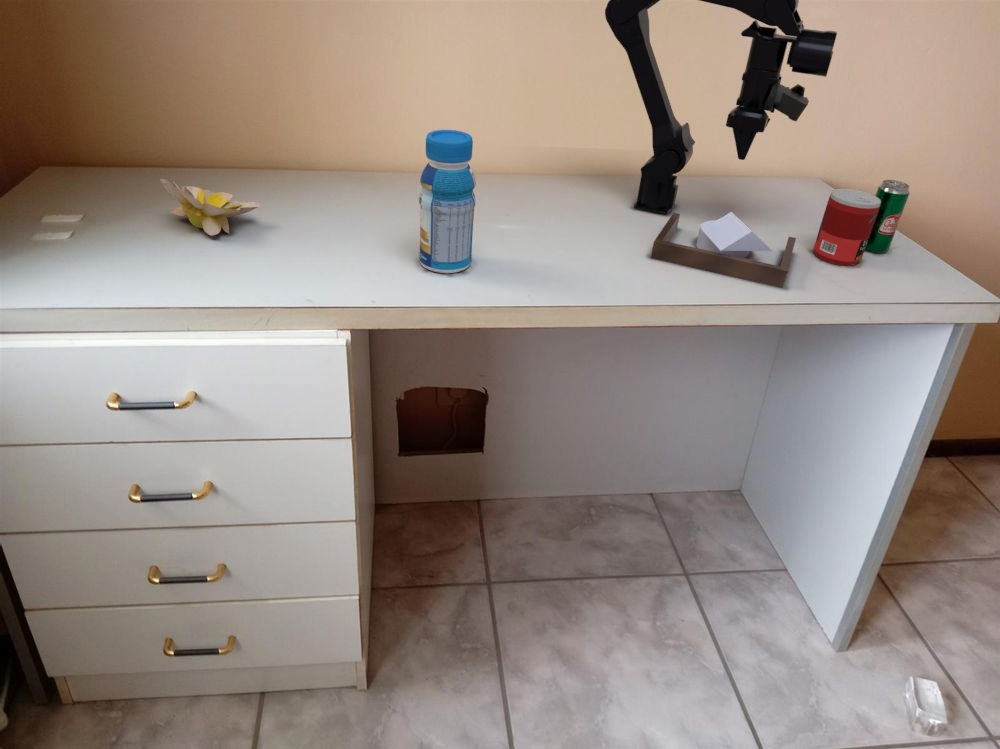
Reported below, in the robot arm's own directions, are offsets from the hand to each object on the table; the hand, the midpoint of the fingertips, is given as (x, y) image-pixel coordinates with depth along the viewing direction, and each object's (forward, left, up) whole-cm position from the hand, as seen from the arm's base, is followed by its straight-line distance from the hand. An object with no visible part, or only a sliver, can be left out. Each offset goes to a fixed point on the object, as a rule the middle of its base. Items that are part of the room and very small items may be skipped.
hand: (741, 159), depth 139 cm
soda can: (+26, +2, -12) cm, 29 cm away
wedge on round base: (+2, -15, -12) cm, 19 cm away
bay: (+2, -16, -12) cm, 20 cm away
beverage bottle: (-37, -44, -12) cm, 59 cm away
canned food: (+20, -6, -12) cm, 24 cm away
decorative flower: (-76, -51, -12) cm, 92 cm away
